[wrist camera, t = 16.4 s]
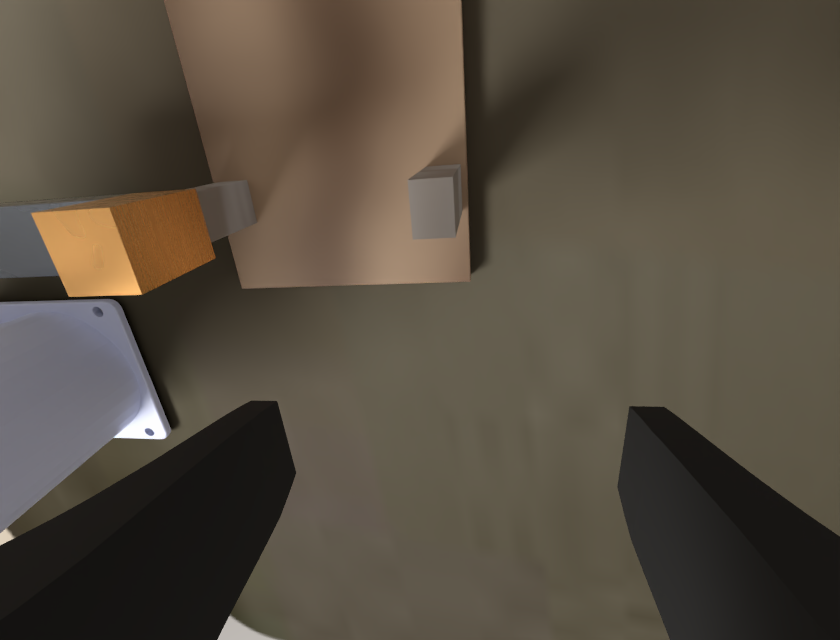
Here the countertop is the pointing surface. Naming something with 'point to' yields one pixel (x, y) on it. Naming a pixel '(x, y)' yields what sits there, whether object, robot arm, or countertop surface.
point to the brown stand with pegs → (331, 137)
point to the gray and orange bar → (105, 241)
